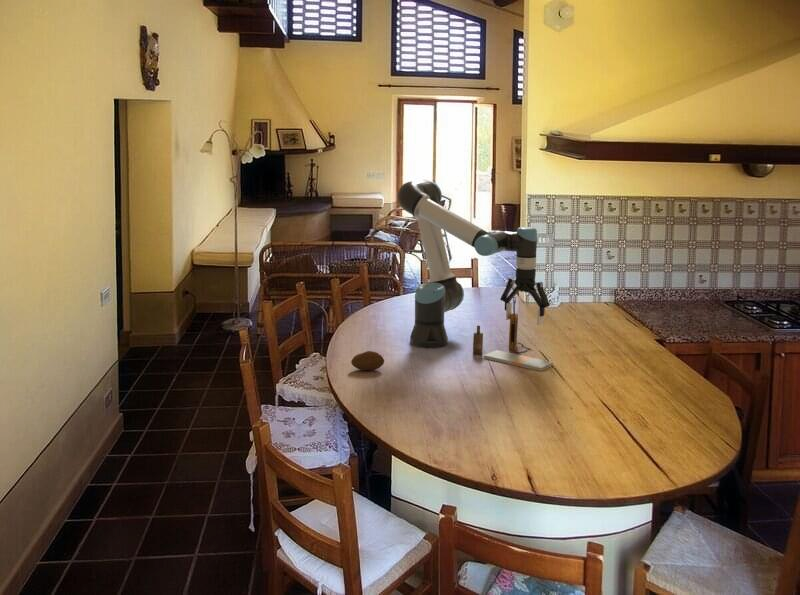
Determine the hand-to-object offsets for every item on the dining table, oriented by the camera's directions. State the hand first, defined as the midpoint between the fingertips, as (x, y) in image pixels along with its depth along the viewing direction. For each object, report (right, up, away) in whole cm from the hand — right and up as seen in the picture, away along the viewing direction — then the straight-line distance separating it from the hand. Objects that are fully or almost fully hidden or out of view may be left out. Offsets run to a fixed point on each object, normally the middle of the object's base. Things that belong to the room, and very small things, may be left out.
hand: (523, 321), depth 301 cm
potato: (-60, -16, -28) cm, 68 cm away
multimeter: (0, -11, +3) cm, 11 cm away
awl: (-19, -12, -6) cm, 23 cm away
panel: (-5, -14, -15) cm, 22 cm away
